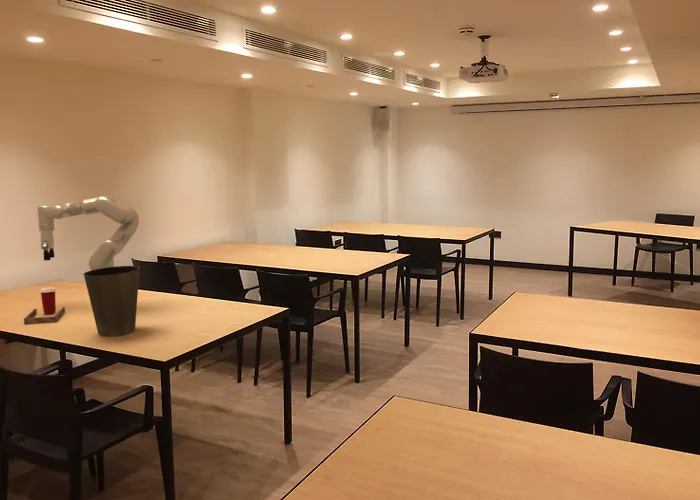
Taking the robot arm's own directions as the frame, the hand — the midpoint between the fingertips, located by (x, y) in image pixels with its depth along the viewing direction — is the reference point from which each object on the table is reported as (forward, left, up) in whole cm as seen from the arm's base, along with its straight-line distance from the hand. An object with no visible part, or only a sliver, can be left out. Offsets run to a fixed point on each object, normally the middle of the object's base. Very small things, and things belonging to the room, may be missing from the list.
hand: (49, 258), depth 328 cm
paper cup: (0, +10, -29) cm, 30 cm away
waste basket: (-39, +56, -29) cm, 74 cm away
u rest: (0, +19, -28) cm, 34 cm away
